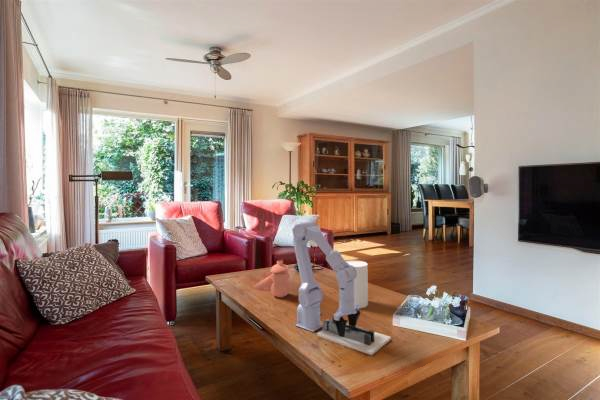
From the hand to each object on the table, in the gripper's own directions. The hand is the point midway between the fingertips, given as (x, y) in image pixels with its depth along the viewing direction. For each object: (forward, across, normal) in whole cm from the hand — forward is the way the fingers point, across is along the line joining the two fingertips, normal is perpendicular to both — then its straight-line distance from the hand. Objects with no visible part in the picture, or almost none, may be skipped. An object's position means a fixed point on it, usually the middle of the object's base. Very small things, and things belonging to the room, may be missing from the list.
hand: (347, 332), depth 128 cm
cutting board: (+2, +2, -2) cm, 3 cm away
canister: (+2, +34, +18) cm, 38 cm away
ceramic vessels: (+2, +26, +65) cm, 71 cm away
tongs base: (+1, 0, 0) cm, 1 cm away
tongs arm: (+1, +1, -1) cm, 2 cm away
